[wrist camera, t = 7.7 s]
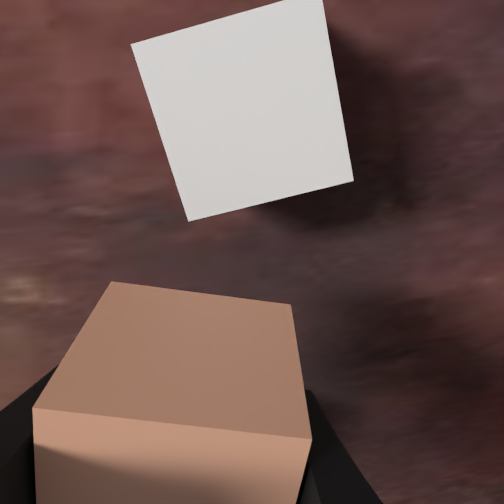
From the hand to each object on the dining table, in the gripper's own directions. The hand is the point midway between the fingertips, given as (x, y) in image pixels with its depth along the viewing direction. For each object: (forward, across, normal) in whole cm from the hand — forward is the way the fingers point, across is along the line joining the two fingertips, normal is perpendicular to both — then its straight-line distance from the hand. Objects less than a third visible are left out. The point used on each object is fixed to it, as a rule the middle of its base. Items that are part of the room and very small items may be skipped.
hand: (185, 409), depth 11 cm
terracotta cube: (+2, 0, 0) cm, 2 cm away
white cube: (+10, -1, -6) cm, 11 cm away
